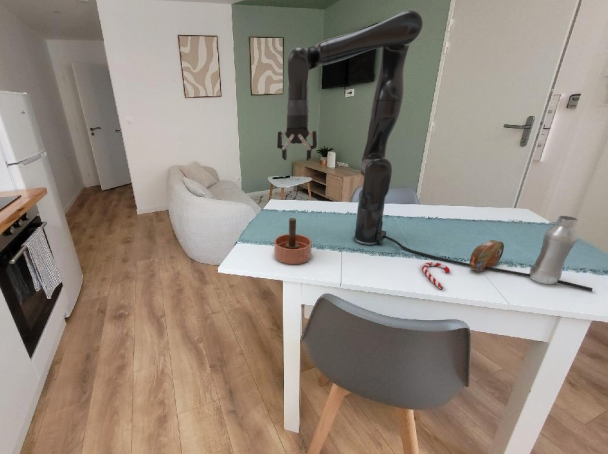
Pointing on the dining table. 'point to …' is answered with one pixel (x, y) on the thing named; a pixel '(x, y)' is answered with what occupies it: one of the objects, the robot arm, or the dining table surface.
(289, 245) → the pestle
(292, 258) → the bowl
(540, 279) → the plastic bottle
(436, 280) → the candy cane
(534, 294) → the dining table surface
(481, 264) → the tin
